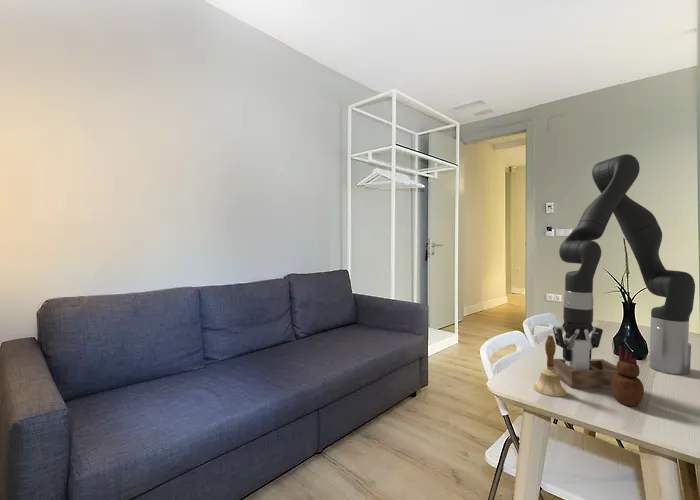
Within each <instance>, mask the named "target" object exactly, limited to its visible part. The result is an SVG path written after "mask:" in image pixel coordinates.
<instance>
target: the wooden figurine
mask: <svg viewBox="0 0 700 500" xmlns="http://www.w3.org/2000/svg"><path fill="white" fill-rule="evenodd" d="M615 366H616V369H617V371H618V373H615V374H614V375H613V377H612V382H611V388H610V389H611V392H612V395H613V397H614V399H615V400H616V401H617V402H618V403H620V404H622V405H624V406H628V407H637V406H639V405H641V402H642V401H643V398H644V395H645V387H644V384H643V382H642V381H641V379H640V378H639V376H640V367H639V364H638V362H637V357H633V353H629V349H628V348H626V349H625V352H624V351H623V347H622V345H619V350H618V361H617V363H616V365H615Z"/></svg>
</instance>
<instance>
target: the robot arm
mask: <svg viewBox="0 0 700 500" xmlns="http://www.w3.org/2000/svg"><path fill="white" fill-rule="evenodd" d="M640 167H641V166H640V162H639V161H638V159H637V158H636V157H635V156H634V155H633V154H621V155H617V156H615V157H611V158H608V159H605V160H602V161H599V162H597V163H596V164H594V166H592V169H591V175H592V176H591V177H592V179H593V182H594V184H595V186H596V187H597V189H598V191H599V192H600V194H599V195H598V196H597V197H596V198H595V199H593V201H592V202H591V203H590V204H589V205H588V206H587V207H586V208H585V210H584V211H583V213H582V215H581V217H580V219H579V220H578V223H577V226H576V227H575V228H574V229H573V230H571V232H570V233H569V234H568V236H566V238H565V239H564V240H563V241H562V243H561V244H560V247H559V251H558V254H559V257H560V259H561V260H562V261H563V262H564V263H568V264H579V265H580V264H581V265H580V266H579V269H578V270H572V271H571V270H570V271H568V272H566V274H565V277H564V278H565V279H564V283H565V284H564V295H563V310H562V311H563V315H562V318H563V324H562V325H561V326H558V327H557V326H553V328H552V330H553V337H554V341H555V345H556V346H559V347H560V348H562V359H565V360H566V361H568V362H570V361H571V350H570V348H571V346H572V344H573V343H574V341H575V340H577V339H582V340H586V341H589V342H590V355H589V361H590V360H591V359H592V350H593V349H595V348H596V349H597V348H599V347H600V344H601V339H602V336H603V332H604V331H603V329H602V328H600V327H597V326H593V324H592V323H593V322H594V293H593V292H594V289H593V288H594V277H595V274H596V271H597V268H598V265H599V263H600V261H601V258H602V257H601V256H602V248H601V246H600V245H599V243H598V242H597V241H596V240H598V239H600V238H601V237H602V236H603V235H604V233H605V230H606V228H607V225H608V223H609V221H610V219H611V217H612V215H614V217H615V219H616V221H617V223H618V225H619V227H620V230H621V232H622V234H623V235H624V237H625V240H626V241H627V243H628V246H629V247H630V249H631V251H632V253H633V255H634V259H636V262H637V265H638V268H639V271H640V274H641V276H642V279H643V282H644V285H645V287H646V289H647V290H648V291H649V292H650V293H651V294H652V295H654V296H657V297H662V298H665V302H664V304H663V305H661V306H655V307H652V308H651V310H650V311H651V312H650V330H649V331H650V334H649V337H650V338H649V359H648V360H649V361H648V363H649V365H648V366H649V367H650V368H651V369H653V370H656V371H659V372H661V373H666V374H671V375H687V374H690V373H691V365H692V364H691V362H692V361H691V358H692V344H691V343H689V333H690V332H689V331H690V330H689V329H690V317H691V314H692V312H693V309H694V304H695V303H694V302H695V301H694V300H695V292H696V282H695V279H694V277H693V275H691V274H690V273H689V272H685V271H682V270H681V271H680V270H670V269H667V268H665V266H664V265H663V262H662V261H661V258H660V254H659V253H660V248H661V244H662V241H663V232H662V229H661V227H660V225H659V224H660V223H659V222H658V220H657V218H656V216H655V215H654V214H653V213H652V211H650V210H649V209H647V208H646V207H645V206H643V205H641V204H640V203H638V202H637V201H634V200H633V199H632V198H630V197H629V196H628V195H627V193H628V192H629V190H630V189H631V187H632V186H633V184H634V183H635V181H637V178H638V176H639V173H640V169H641V168H640ZM564 332H565V334H564ZM563 334H564V336H563ZM590 334H591V335H590ZM569 337H570V339H569Z"/></svg>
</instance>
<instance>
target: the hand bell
mask: <svg viewBox="0 0 700 500" xmlns="http://www.w3.org/2000/svg"><path fill="white" fill-rule="evenodd" d="M544 347H545V348H544V350H545V354H546V368H544V369H541V371H540V376H539V379H538V381H537V382H535V383H534V384H533V386H532V387H533V389H534V391H535V392H538V393H540V394H542V395H544V396H548V397H553V398H554V397H555V398H562V397H565V396H566V395H567V394H568V393H567V390H566V389H565V388H564V387H563V385H562V384H561V380H560V379H559V373H558V372H556V371H555V370H554V365H553V359H554V357H555V354H556V350H557V349H556V348H557V345H556V341H555V337H554V335H547V338H546V341H545V343H544Z"/></svg>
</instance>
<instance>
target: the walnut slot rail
mask: <svg viewBox="0 0 700 500" xmlns="http://www.w3.org/2000/svg"><path fill="white" fill-rule="evenodd" d="M565 361H566V360H565V359H564V358H553V365H554V370H555V371H556V372H558V373H559V379H560V382H562V383H564V384H565V385H566V386H568V387H570V388H571V389H612V388H611V382H612V377H613V375H614V374H615V373H618V371H617V369H616V366H617V365H615V364H613V363H611V362H609V361H607V360H605V359H603V358H602V359H601V358H600V359H599V358H598V359H596V358H591V360H590V361H589V370H575V369H573V368H572V367H570V366H568V365H567V364H565Z"/></svg>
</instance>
